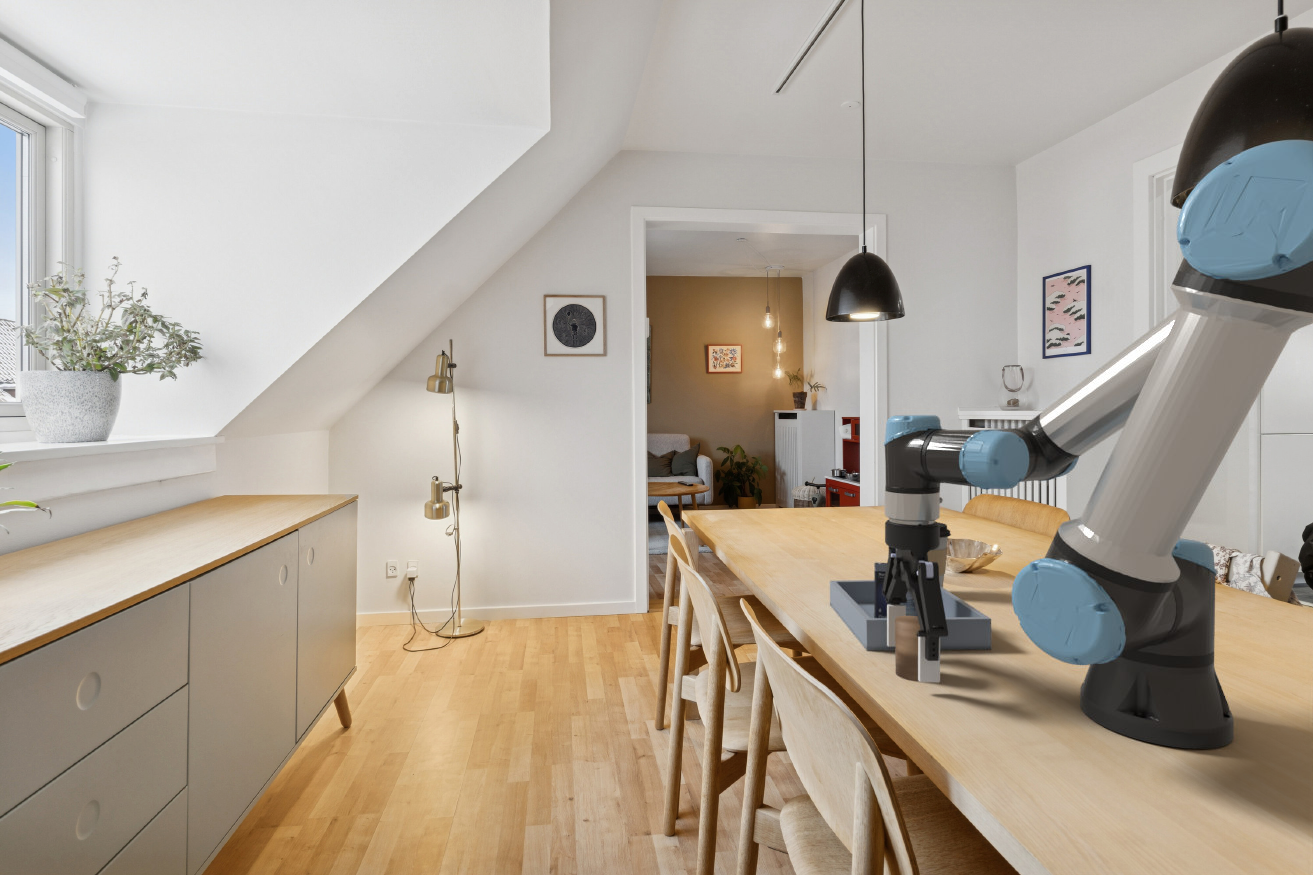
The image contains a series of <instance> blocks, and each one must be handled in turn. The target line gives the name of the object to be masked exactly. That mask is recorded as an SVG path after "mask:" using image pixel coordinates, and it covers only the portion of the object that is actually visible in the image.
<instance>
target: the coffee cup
mask: <svg viewBox="0 0 1313 875" xmlns="http://www.w3.org/2000/svg"><path fill="white" fill-rule="evenodd" d="M938 524H939V525H940V545H939V547H938V548H937V549H934V550H930V551H929V552H928V554H927V555H928V560H929V562H937V563H938V566H939V582H940V586H941V587H943V588H944V581H945V580H944V578H945V575H946V567H947V558H948V557H947V556H948V540H949V539H948V537H950V536H952V534H951V530H950V529H948V524H946V523H942V522H938Z"/></svg>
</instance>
